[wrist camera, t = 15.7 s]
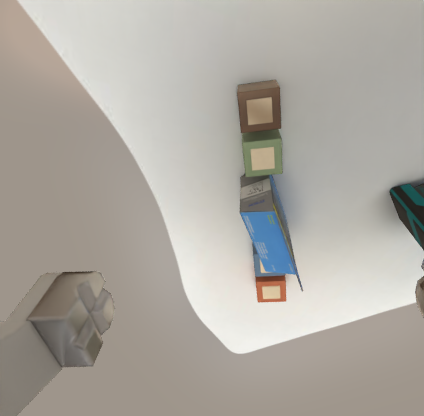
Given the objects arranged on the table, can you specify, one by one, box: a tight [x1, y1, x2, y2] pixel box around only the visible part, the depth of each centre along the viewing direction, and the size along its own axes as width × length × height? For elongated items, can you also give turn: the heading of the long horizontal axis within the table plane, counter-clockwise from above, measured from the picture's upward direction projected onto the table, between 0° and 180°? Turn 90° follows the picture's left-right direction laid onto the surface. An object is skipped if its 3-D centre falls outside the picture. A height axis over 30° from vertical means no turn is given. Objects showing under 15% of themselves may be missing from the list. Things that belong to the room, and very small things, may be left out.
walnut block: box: [237, 80, 281, 133], centre depth 32 cm, size 4×4×4 cm
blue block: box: [253, 244, 285, 277], centre depth 42 cm, size 4×4×4 cm
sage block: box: [242, 129, 282, 177], centre depth 34 cm, size 4×4×4 cm
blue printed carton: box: [240, 175, 303, 291], centre depth 35 cm, size 9×4×12 cm, turn 22°
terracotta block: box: [256, 275, 286, 302], centre depth 45 cm, size 4×4×4 cm
